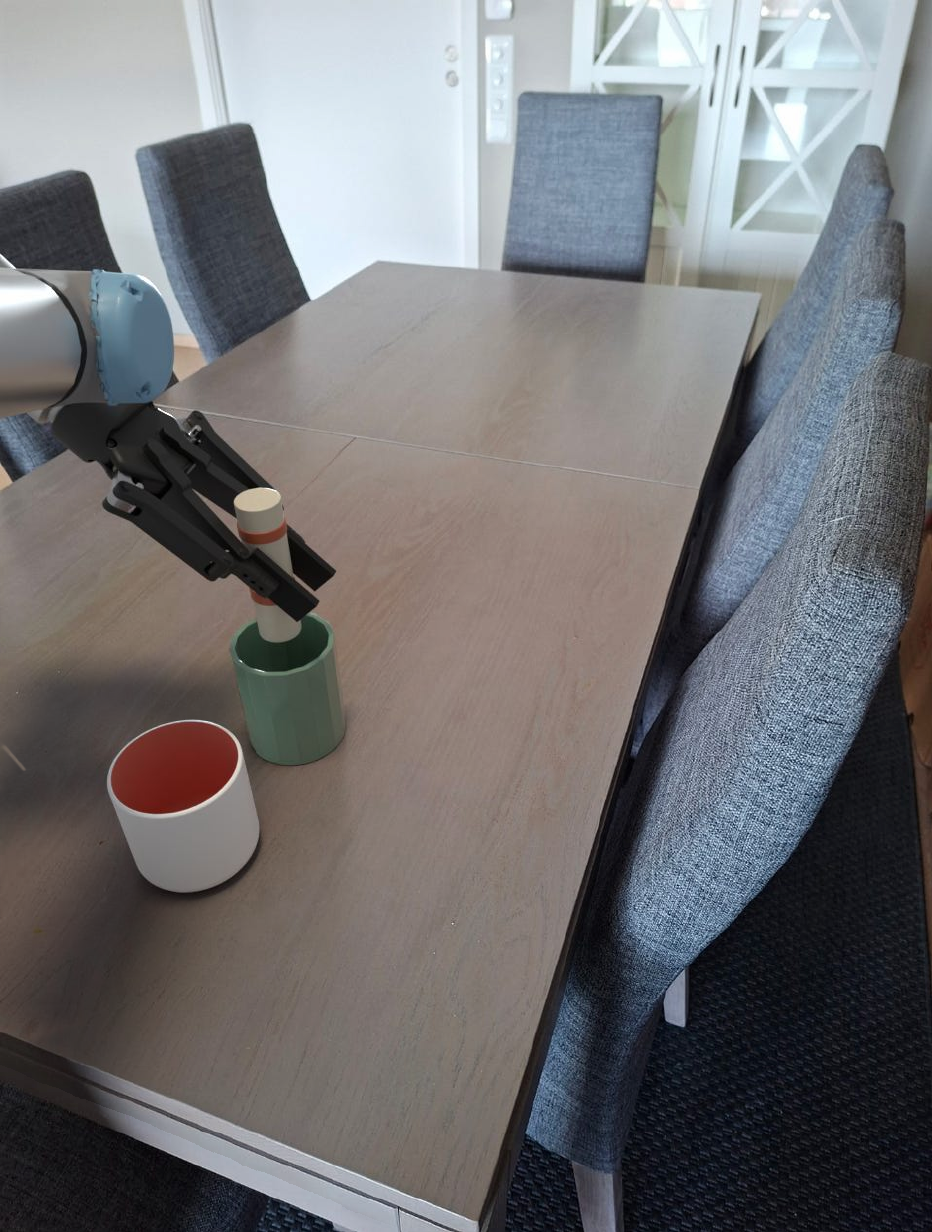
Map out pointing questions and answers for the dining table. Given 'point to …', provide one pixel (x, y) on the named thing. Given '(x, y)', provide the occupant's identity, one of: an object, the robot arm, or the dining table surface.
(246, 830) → the cup
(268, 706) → the tumbler
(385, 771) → the dining table surface
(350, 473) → the dining table surface
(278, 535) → the cream banded cylinder
